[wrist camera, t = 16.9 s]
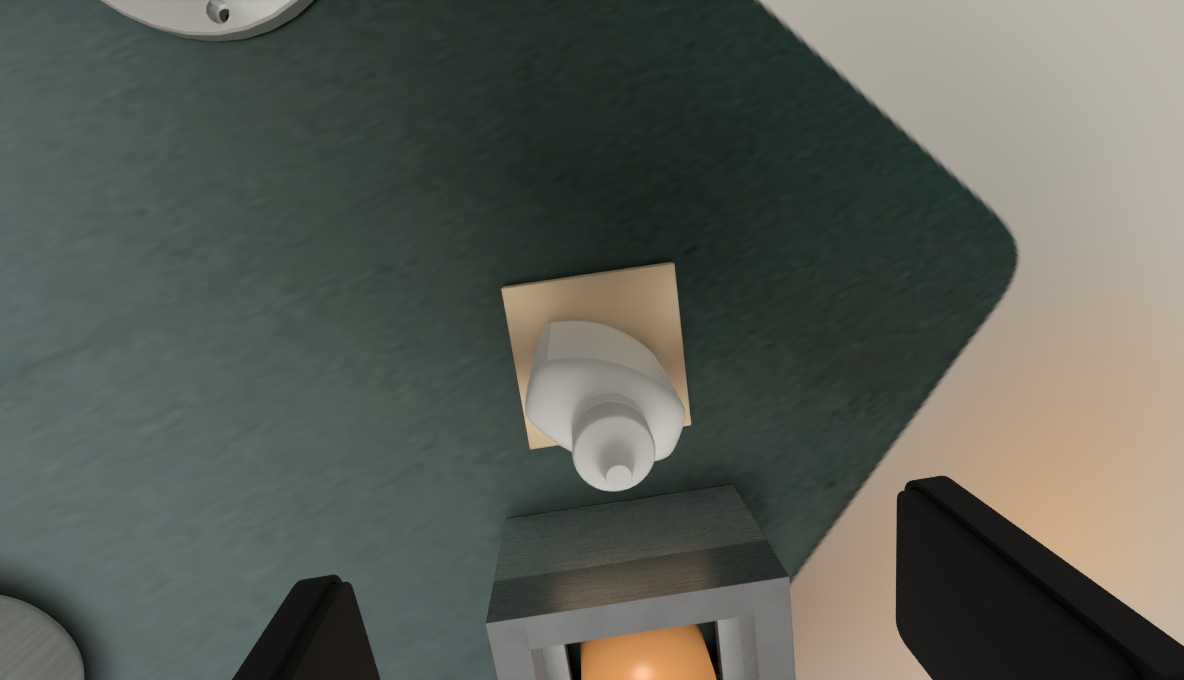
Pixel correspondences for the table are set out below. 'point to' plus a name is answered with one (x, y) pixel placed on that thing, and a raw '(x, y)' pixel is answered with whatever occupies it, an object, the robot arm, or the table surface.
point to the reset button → (648, 656)
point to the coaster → (600, 319)
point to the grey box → (640, 583)
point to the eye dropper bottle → (603, 402)
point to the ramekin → (35, 645)
